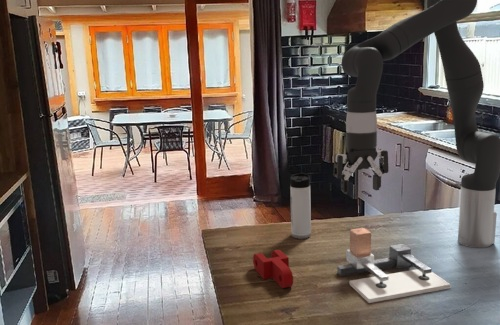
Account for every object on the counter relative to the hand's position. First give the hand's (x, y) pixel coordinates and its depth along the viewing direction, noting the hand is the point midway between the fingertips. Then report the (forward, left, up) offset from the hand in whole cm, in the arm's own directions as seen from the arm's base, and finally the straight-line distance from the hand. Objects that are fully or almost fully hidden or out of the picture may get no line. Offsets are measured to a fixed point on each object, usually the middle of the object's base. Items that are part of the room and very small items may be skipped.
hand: (360, 191), depth 127 cm
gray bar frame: (-5, +5, -22) cm, 23 cm away
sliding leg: (0, +5, -21) cm, 21 cm away
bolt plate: (-5, +11, -22) cm, 25 cm away
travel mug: (+5, -30, -22) cm, 38 cm away
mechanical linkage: (+22, -4, -23) cm, 32 cm away
